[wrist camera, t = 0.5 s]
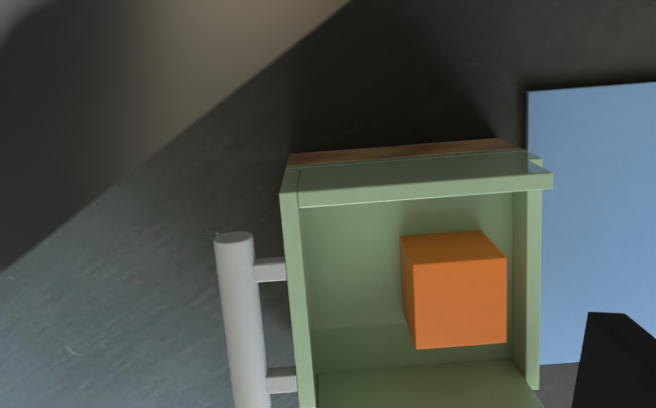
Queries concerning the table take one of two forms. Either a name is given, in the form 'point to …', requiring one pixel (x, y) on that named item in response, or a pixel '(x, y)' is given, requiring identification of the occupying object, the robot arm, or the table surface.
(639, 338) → the robot arm
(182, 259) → the table surface
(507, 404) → the green open box
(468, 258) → the block
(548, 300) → the mat
